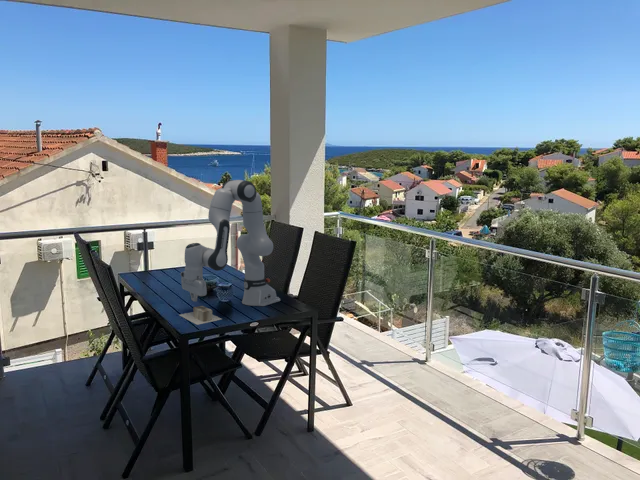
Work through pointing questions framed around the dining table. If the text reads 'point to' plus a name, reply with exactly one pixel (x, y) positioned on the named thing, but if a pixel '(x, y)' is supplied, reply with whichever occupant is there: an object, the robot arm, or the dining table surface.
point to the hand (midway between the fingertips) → (194, 300)
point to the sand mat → (191, 318)
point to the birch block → (202, 313)
